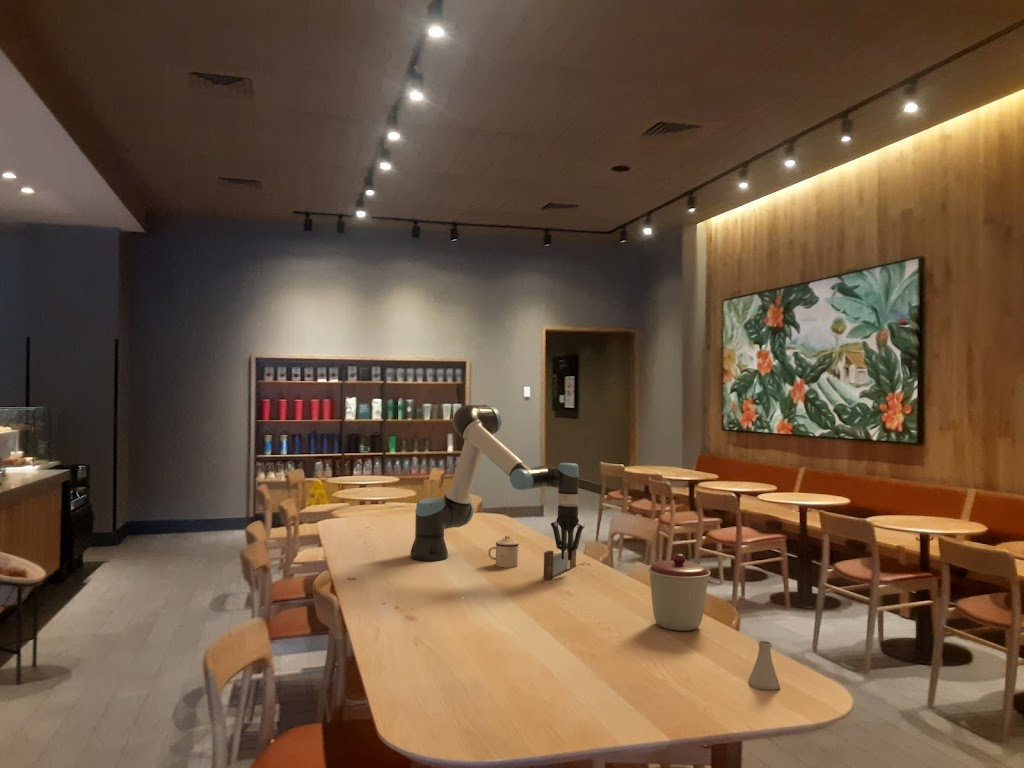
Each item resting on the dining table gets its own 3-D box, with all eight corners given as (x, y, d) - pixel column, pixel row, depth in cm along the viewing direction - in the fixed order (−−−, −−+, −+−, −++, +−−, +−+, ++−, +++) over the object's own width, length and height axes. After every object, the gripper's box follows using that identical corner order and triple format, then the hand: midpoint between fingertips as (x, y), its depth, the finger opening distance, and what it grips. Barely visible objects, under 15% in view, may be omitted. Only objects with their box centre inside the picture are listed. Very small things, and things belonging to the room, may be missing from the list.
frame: (542, 580, 275) (543, 552, 276) (570, 565, 300) (571, 540, 300) (549, 580, 274) (549, 553, 274) (576, 566, 299) (577, 541, 299)
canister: (673, 639, 211) (674, 562, 212) (633, 621, 227) (635, 550, 228) (722, 631, 220) (724, 557, 220) (681, 614, 236) (683, 546, 236)
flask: (743, 679, 182) (744, 637, 182) (772, 679, 182) (773, 637, 183) (755, 691, 175) (756, 647, 175) (785, 691, 175) (786, 647, 175)
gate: (563, 568, 292) (564, 548, 292) (567, 569, 292) (567, 549, 292) (549, 575, 280) (550, 555, 280) (553, 576, 279) (553, 555, 279)
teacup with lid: (515, 562, 303) (516, 533, 303) (520, 567, 294) (521, 537, 295) (485, 563, 300) (486, 533, 301) (490, 568, 292) (491, 538, 292)
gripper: (547, 504, 283) (546, 568, 282) (580, 507, 277) (579, 572, 277) (555, 502, 289) (554, 564, 289) (588, 505, 284) (586, 568, 283)
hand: (566, 568), depth 283 cm, fingers closed
